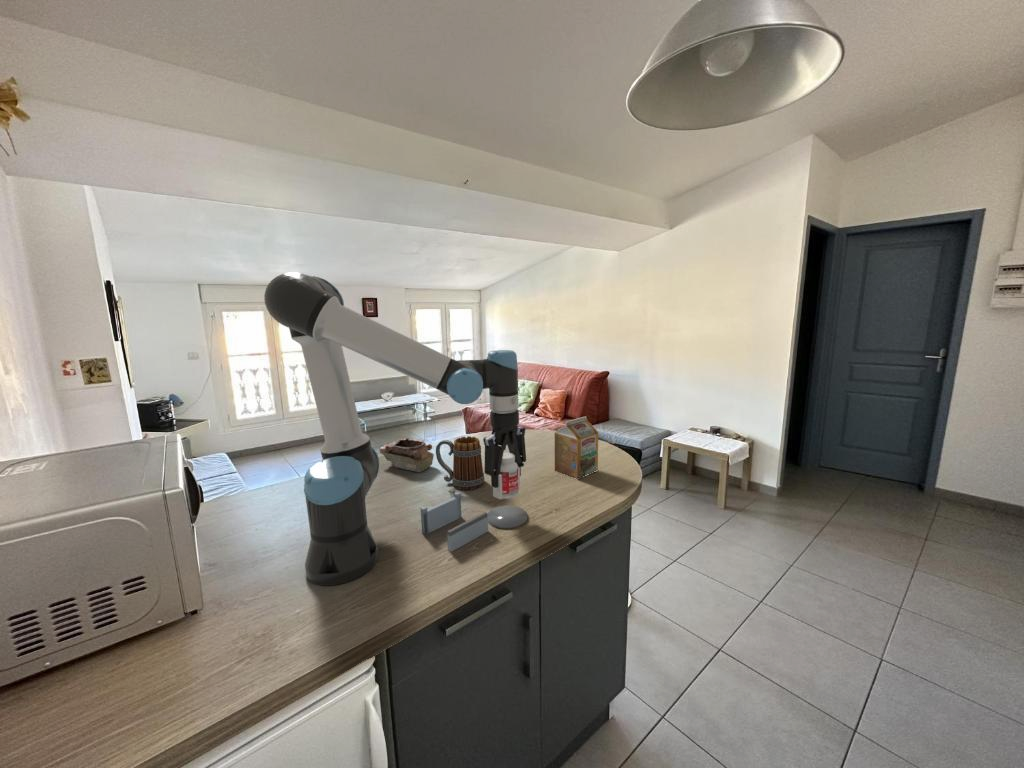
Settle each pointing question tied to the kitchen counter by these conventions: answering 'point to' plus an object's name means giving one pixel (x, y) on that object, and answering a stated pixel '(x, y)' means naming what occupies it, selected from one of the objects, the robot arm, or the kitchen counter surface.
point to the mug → (463, 463)
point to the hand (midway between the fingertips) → (507, 492)
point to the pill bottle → (509, 476)
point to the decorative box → (408, 454)
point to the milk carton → (576, 448)
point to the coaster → (507, 517)
